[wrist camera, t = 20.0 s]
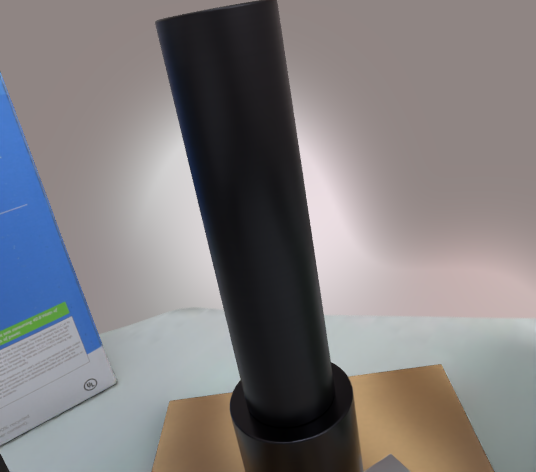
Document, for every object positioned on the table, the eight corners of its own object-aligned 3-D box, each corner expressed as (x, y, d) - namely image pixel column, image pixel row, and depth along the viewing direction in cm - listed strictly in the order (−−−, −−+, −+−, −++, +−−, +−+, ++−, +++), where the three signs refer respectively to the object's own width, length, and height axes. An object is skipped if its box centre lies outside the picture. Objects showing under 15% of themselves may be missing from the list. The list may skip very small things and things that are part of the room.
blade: (284, 761, 15) (51, 28, 7) (177, 529, 22) (7, 50, 14) (493, 575, 18) (501, -47, 10) (341, 429, 26) (277, 2, 18)
